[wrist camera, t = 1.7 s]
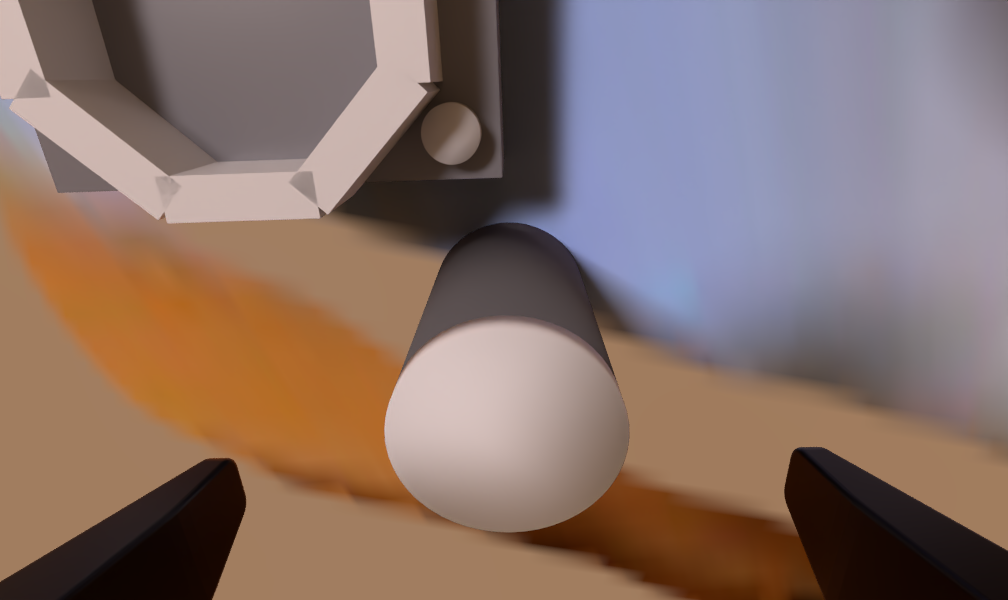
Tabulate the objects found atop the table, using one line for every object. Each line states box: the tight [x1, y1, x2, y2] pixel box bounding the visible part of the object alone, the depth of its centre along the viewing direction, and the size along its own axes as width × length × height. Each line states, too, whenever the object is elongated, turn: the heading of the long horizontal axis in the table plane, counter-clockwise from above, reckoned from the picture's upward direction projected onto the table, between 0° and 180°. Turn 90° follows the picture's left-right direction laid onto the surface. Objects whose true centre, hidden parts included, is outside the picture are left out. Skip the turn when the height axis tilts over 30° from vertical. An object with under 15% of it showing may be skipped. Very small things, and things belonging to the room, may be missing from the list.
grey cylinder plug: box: [384, 223, 629, 532], centre depth 13 cm, size 4×4×7 cm
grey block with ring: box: [0, 0, 504, 223], centre depth 11 cm, size 10×8×5 cm
